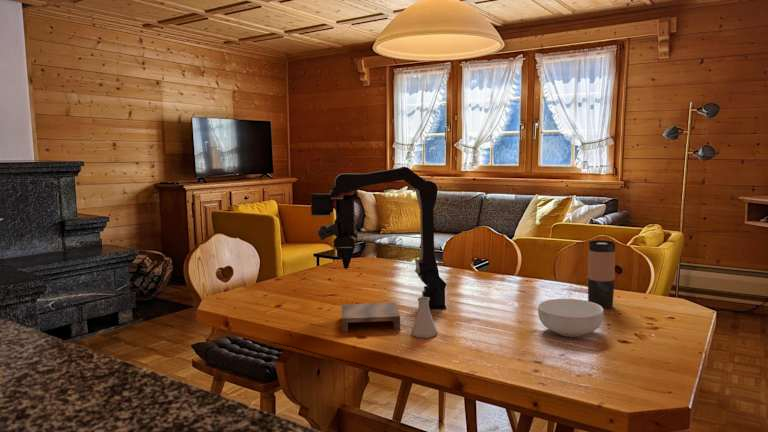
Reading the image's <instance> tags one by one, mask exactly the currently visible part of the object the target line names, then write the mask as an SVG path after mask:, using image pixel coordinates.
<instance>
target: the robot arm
mask: <svg viewBox="0 0 768 432" xmlns="http://www.w3.org/2000/svg"><path fill="white" fill-rule="evenodd" d="M399 181H403V182H405V183H406V184H407V185H409V186H410V187H411V188H412V189H414V191H415V194H416V196H415V197H416V200H417V203H418V206H419V207H418V208H419V214H420V215H419V218H420V219H419V220H420V222H419V223H420V256H419V259H417V258H416V259H414V260H415V261H414V262H415V270H414V271H415V273H416V274H417V277H418V278H419V279H420V280H421V282H422V283H423V284H424V285H425V286H423V290H422V291H421V297H428V298H430V300H429V309H430V310H441V309H447V305H446V286H447V283H446V282H445V280H444V279H442V277H440V271H439V268H438V263H437V259H436V256H435V232H434V230H435V226H434V225H435V224H434V223H435V221H434V220H435V218H434V214H435V213H434V209H435V206H436V203H437V197H438V191H439V189H438V186H437V184H436V183H435V182H433V181H431V180H428V179H425V178H423V177H422V176H419V175H418V174H417V173H415V172H414V171H412V170H411V168H410V167H409V166H408V167H407V166H400V167H397V168H396V167H395V168H391V169H384V170H378V171H373V172H366V173H365V172H364V173H351V172H350V173H349V172H345V173H343V172H342V173H338V175H337V176H336V177H335V178H334V185H333V187H332V189H330V190H329V193H311V195H310V196H311V204H310V213H311V215H310V216H311V217H321V216H322V217H327V216H331V214H332V213H334V208H335V219H334V222H333V223H330V224H327V225H326V224H324V225H322V226H320V227H319V228H318V229H317V235H318V237H319V239H320V240H321V241H324V240H326V239H327V238H329V237H330V238H331V237H332V236H334V237H335V238H334V239H333V242H332V243H333V248H334V249H335V250H336V251H337V252H339V254H340V257H341V261H342V266H343V268H344V269H345V270H347V269H349V267H350V263H351V260H352V258H353V254H354V251H355V249H356V245H357V242H358V237H359V236H358V235H359V234H358V230H357V229H356V211H355V210H356V209H355V201H360V200H361V197H360V196H359V195H358V194H357V192H356V190H359V189H362V188H365V187H368V186H373V185H379V184H387V183H393V182H399ZM351 192H353V193H351ZM348 193H349V194H348ZM340 195H342V197H339V196H340ZM334 202H335V203H334ZM334 205H335V207H334Z"/></svg>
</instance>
